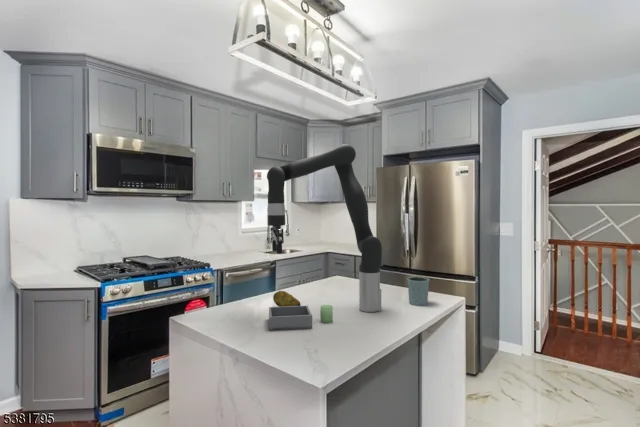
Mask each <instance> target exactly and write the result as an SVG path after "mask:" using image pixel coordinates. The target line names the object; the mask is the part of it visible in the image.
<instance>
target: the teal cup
mask: <svg viewBox="0 0 640 427" xmlns="http://www.w3.org/2000/svg"><path fill="white" fill-rule="evenodd" d="M429 284H430V278H427V277H423V276H410V277H407V287H408V289H407V291H408V304H409V305H411V306H416V307H425V306H428V304H429V303H428V301H429Z"/></svg>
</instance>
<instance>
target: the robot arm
mask: <svg viewBox="0 0 640 427" xmlns="http://www.w3.org/2000/svg"><path fill="white" fill-rule="evenodd" d="M356 153H357V152H356V150H355V148H354V147H353V146H352V145H350V144H347V143H345V144H344V143H343V144H340V145H338V146H337V147H335V148H333V149H331V150H329V151H326V152H324V153H320V154H318V155H313V156H310V157H305V158H302V159H298V160H295V161H292V162H289V163H287V164H285V165H280V166H273V167H270V168H269V170H268V171H267V173H266V179H267V183H268V192H267V225H268V226H271V227H270V241H271V244H272V248H271V249H272V252H276V254H278V255H279V254H283V244H284V242H285V240H284V228H282V226H285V225H286V205H285V182H286V181H289V180H292V179H297V178H302V177H304V176H308V175H311V174H313V173H316V172H319V171H320V170H324V169H326V168H327V169H328V168H329V167H334V168H335V171H336V173H337V176H338V178H339V181H340V186H341V190H342V194H343V197H344V201H345V205H346V208H347V212H348V214H349V218H350V221H351V223H352V226H353V229H354V234H355V239H356V245H357V249H358V251H359V252H360V254H361V260H360V261H361V262H360V264H359V266H358V268H359V269H358V270H359V271H358V276H359V277H358V279H359V280H358V282H359V284H358V285H359V286H358V287H359V288H358V290H359V291H358V296H359V297H358V299H359V300H358V302H359V304H358V305H359V306H358V307H359V308H358V309H359V311H361V312H365V313H366V312H367V313H376V312H381V311H382V289H381V276H380V275H381V266H382V258H383V256H382V254H383V248H382V242H381V240H380V239H379V238H378V237H376V236H374V235H373V231H372V229H371V226H370V222H369V205H368V200H367V197H366V194H365V191H364V189H363V187H362V185H361V184H360V182H359V181H358V179H357V177H356V175H355V171H354V168H353V165H352V164H353V162H354V160H355V159H356Z"/></svg>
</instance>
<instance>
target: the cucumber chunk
mask: <svg viewBox="0 0 640 427" xmlns="http://www.w3.org/2000/svg"><path fill="white" fill-rule="evenodd" d="M319 307H320V309H319V310H320V311H319V312H320V317H319V320H320V322H321V323H323V324H331V323H333V321H334V320H333V318H334V316H333V315H334V312H333V308H334V307H333V305H332V304H322V305H320V306H319Z"/></svg>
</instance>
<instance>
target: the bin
mask: <svg viewBox="0 0 640 427" xmlns="http://www.w3.org/2000/svg"><path fill="white" fill-rule="evenodd" d="M268 325H269V331H270V332H272V331H273V332H274V331H287V330H290V331H291V330H307V329H313V314H312V312H311V309H310V308H309V306H308V305H301V306H285V307H279V306H270V307H268Z"/></svg>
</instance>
